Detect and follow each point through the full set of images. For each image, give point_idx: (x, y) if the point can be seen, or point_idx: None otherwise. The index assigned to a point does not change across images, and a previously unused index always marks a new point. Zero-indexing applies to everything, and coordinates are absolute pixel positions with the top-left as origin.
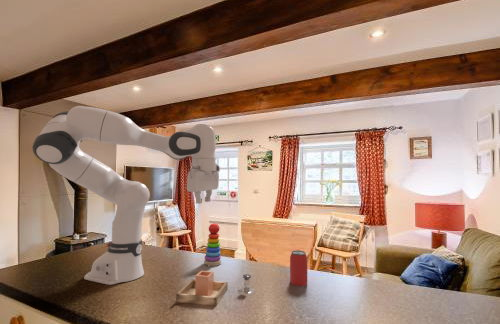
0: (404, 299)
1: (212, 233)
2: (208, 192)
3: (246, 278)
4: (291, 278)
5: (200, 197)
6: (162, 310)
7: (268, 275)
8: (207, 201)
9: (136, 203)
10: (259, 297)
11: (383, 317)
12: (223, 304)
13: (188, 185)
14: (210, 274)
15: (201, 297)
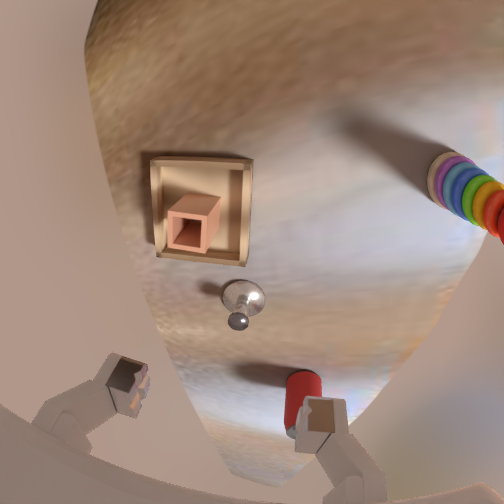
0: (261, 453)
1: (499, 215)
2: (331, 490)
3: (228, 320)
4: (296, 380)
5: (99, 418)
6: (128, 141)
7: (351, 334)
8: (300, 410)
9: None
10: None
11: (209, 429)
12: None
13: None
14: (184, 249)
15: (154, 223)
